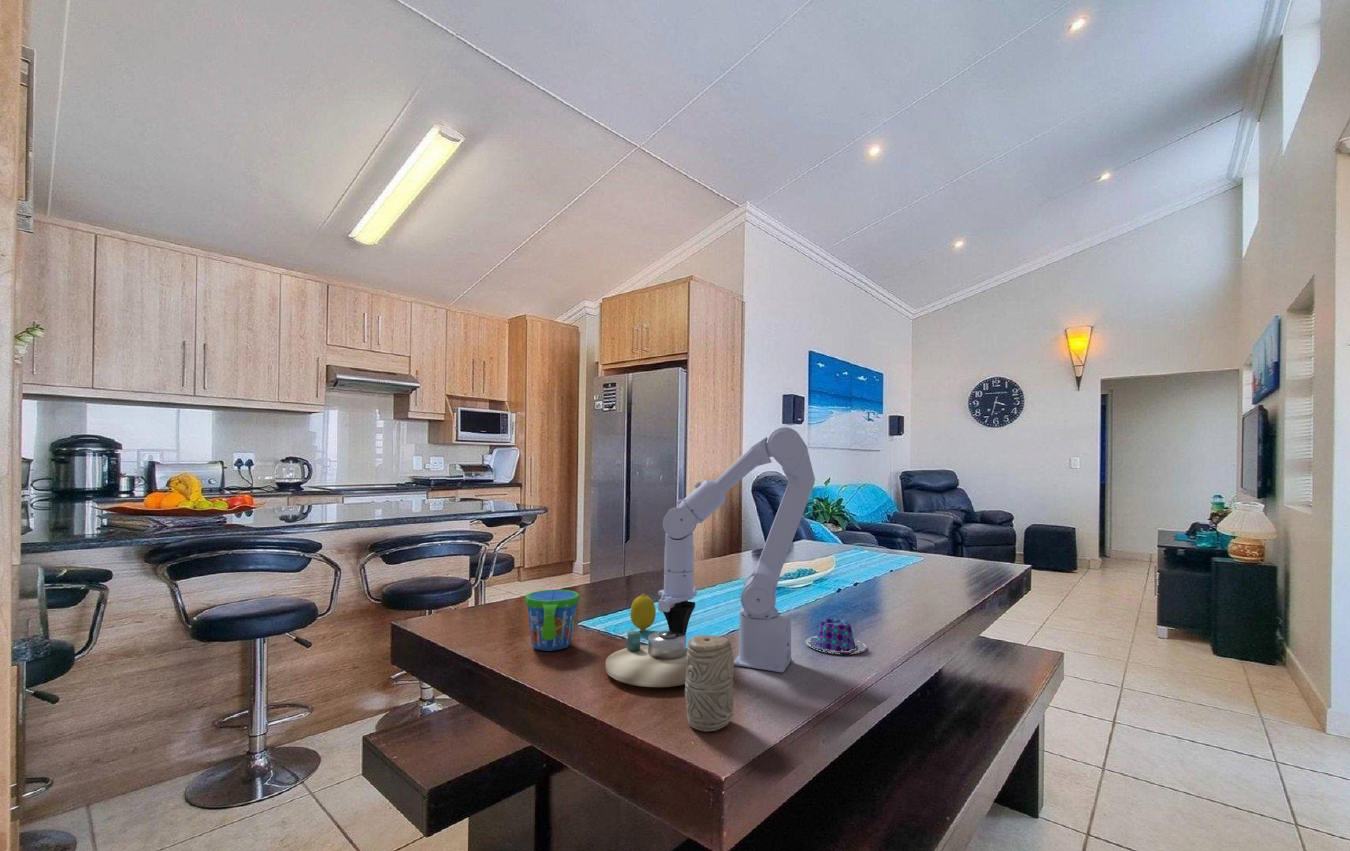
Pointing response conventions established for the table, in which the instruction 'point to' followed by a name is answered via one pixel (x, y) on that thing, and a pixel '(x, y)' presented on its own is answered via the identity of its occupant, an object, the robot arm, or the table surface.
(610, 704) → the table surface
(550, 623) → the snack cup
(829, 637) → the polka dot fedora
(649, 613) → the lemon
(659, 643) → the cover
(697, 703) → the carving
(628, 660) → the turntable
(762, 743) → the table surface
